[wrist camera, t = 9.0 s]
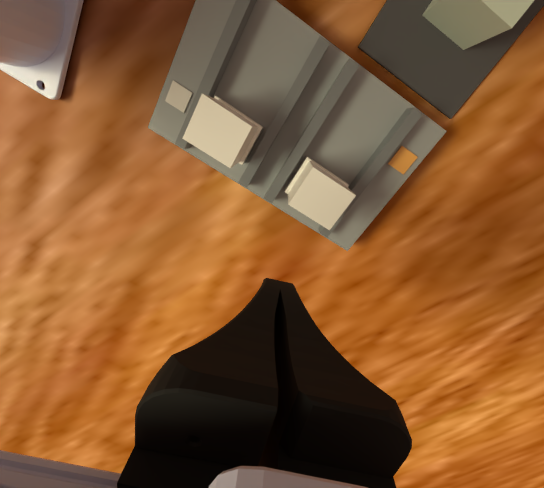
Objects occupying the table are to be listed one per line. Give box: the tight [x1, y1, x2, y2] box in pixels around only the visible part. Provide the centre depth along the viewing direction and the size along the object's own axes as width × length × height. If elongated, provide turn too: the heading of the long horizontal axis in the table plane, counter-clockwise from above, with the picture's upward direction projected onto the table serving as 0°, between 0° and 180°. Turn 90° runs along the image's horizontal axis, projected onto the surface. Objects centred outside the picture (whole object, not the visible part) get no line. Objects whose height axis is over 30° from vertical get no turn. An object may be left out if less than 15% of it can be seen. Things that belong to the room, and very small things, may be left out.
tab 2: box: [285, 156, 356, 230], centre depth 15 cm, size 3×2×4 cm
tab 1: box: [182, 94, 264, 168], centre depth 14 cm, size 3×2×4 cm
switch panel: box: [148, 0, 446, 251], centre depth 16 cm, size 15×9×2 cm, turn 58°
